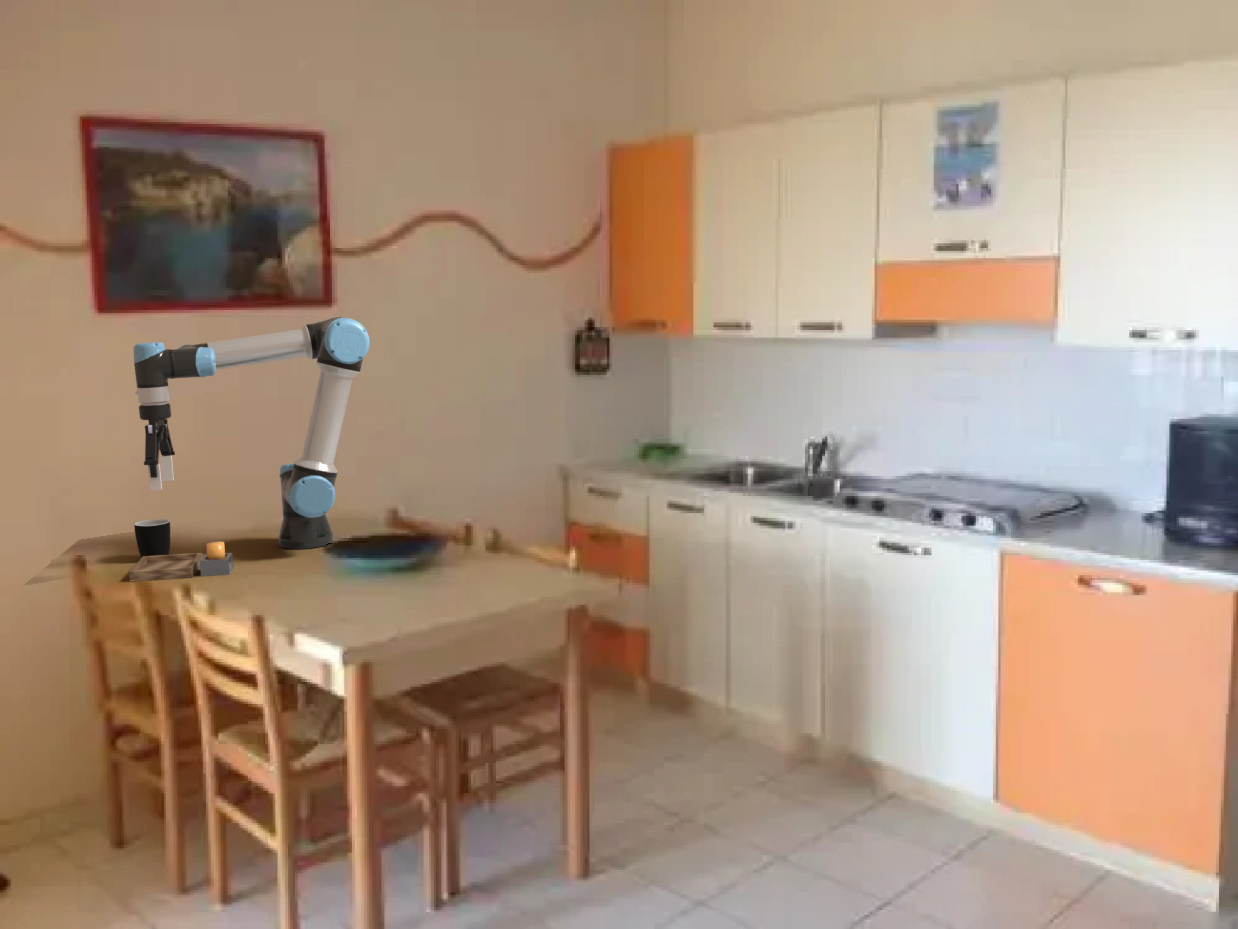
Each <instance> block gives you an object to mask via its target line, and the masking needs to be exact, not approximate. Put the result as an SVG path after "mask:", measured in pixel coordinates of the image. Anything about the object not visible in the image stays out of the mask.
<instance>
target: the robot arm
mask: <svg viewBox="0 0 1238 929" xmlns="http://www.w3.org/2000/svg"><path fill="white" fill-rule="evenodd" d="M369 335H370V334H368V331H367V329H366V328H365V326H364V325H362V324H361V323H360V322H359V321H357V320H355V319H353V318H347V317H341V316H339V317H332V318H328V319H324V320H322V321H317V322H314V323H308V324H303V326H302V327H301V328H299V329H292V330H286V331H285V330H284V331H278V332H271V333H265V334H259V335H252V336H243V337H238V338H237V337H236V338H231V339H225V340H224V339H223V340H217V341H210V342H205V343H197V344H184V345H181V346H180V347H178V348H176V349H175V348H174V349H170V348H166V347H165V344H164V342H161V341H158V342H157V341H154V342H152V341H150V342H141V343H136V344H135V345H134V346H133V364H134V372H135V374H134V375H135V381H136V382H135V383H136V391H135V392H134V393H135V395H137V401H138V403H139V404H140V405H139V406H138V412H139V413H138V414H139V419H140V420H142V421H148V424H145V426H144V430H145V431H144V432H145V437H144V438H145V442H144V443H145V445H144V461H143V465H144V466H147V470H148V479H149V481H148V482H149V489H150V491H161V490H163V485H162V482H171V481H173V482H174V481H175V478H174V477H175V476H174V466H173V456H175V455H176V452H175V451H176V450H174V447H173V442H172V438H171V434H170V429H169V423H168V419H170V418H171V417H172V412H171V411H172V410H171V404H170V403H169V402H170V401H171V397H170V389H169V382H168V381H169V380H171V379H172V380H173V379H187V378H189V379H191V378H205V377H212V376H214V375H216V373H217V370H225V369H230V368H231V369H232V368H238V367H245V366H251V365H257V364H265V363H271V362H277V361H285V360H290V359H297V358H304V357H305V358H308V359H309V360H314V359H315V360H316V364H317V366H318V368H319V370H320V373H319V377H318V381H317V387H316V391H315V394H314V399H313V403H312V404H313V405H312V408H311V414H310V417H309V418H310V419H309V422H308V425H307V426H308V427H307V431H306V436H305V440H304V445H303V450H302V453H301V457H299V458H298V459H297V460H295V461H294V462H293V463H287V464H286V463H285V464H282V465H281V466H280V468H279V478H280V487H281V488H280V490H281V504H282V505H281V508H282V520H281V525H280V528H279V534H278V537H277V538H278V539H277V540H278V541H277V542H278V546H279V547H280V548H283V549H288V550H289V549H290V550H296V549H297V550H302V549H303V550H304V549H306V550H307V549H313V548H320V547H324V546H327V545H326V544H328V543H329V542H331V541H333V540H334V541H335V538H334V532H333V530H332V527H331V524H330V521H329V519H328V517H327V515H326V514H327V513H328V512H329V511H331V509H332V507H333V506H334V503H335V501H336V489H335V485H336V482H337V480H336V479H337V478H338V476H337V475H338V469H337V468H336V466H335V464H334V462H335V459H336V455H337V451H338V446H339V445H338V444H339V442H340V436H341V432H342V428H343V424H344V419H345V415H346V409H347V405H348V400H349V396H350V392H351V389H352V388H351V387H352V383H353V378H355V377H356V376H358V375H359V374H361V369H362V365H363V360H364V359H365V357H366V355H367V354H368V351H369V350H370V345H371V344H370V343H371V342H370V341H371V340H370V336H369ZM160 455H161V456H160ZM159 456H160V458H159ZM159 459H160V460H159ZM159 461H160V463H159ZM328 545H329V544H328Z"/></svg>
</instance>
